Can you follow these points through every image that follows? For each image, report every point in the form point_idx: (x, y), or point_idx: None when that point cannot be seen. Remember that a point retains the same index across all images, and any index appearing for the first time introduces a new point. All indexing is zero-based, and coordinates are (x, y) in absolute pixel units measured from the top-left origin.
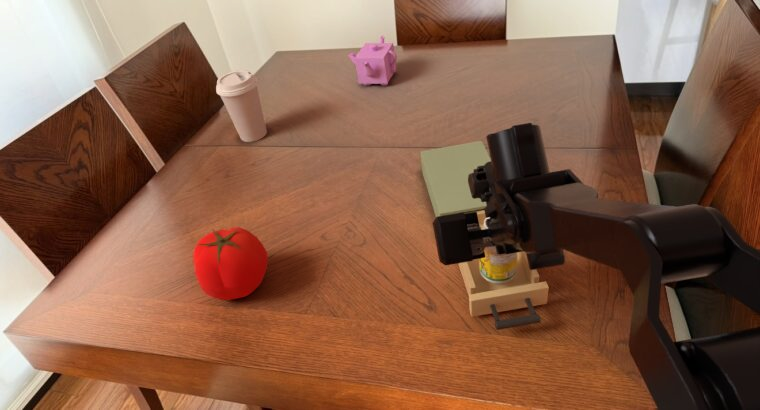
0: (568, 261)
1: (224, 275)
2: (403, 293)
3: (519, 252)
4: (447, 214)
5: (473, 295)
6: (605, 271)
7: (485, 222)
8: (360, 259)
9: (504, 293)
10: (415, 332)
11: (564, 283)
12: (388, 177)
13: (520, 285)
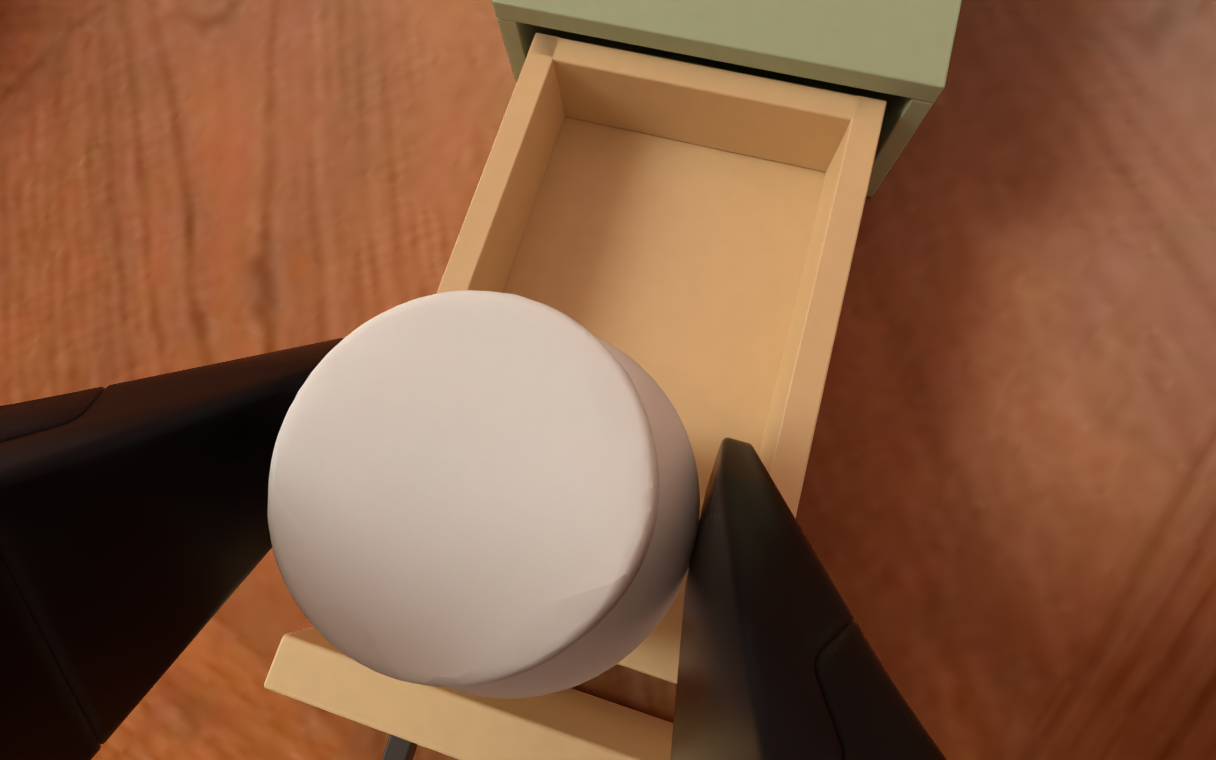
0: (1008, 561)
1: None
2: (196, 348)
3: (767, 447)
4: (536, 21)
5: (298, 656)
6: (1165, 732)
7: (326, 378)
8: (159, 93)
9: (465, 746)
10: None
11: (901, 685)
12: None
13: (652, 634)
